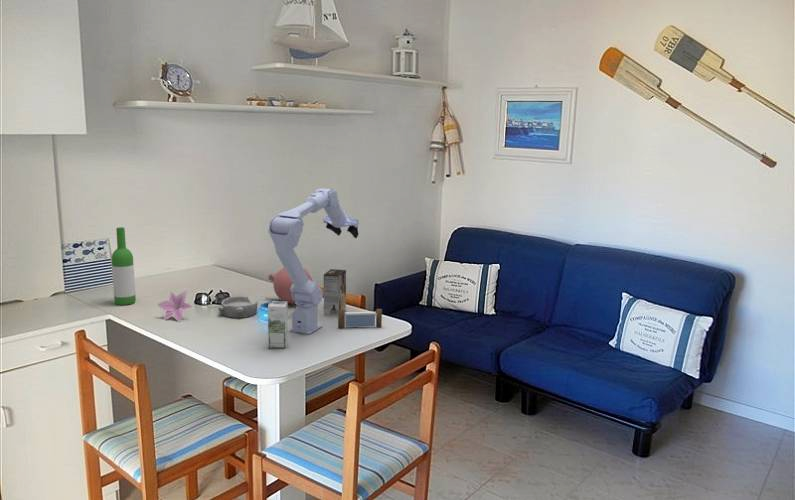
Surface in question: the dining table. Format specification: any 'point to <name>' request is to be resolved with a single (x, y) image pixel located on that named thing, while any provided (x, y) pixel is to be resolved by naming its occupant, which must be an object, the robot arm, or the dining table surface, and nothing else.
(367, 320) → the block
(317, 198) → the robot arm
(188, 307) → the lily
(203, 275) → the dining table surface
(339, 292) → the coffee box
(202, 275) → the dining table surface
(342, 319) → the gate posts
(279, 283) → the pink balloon
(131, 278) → the wine bottle
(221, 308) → the dish
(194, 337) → the dining table surface
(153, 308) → the dining table surface
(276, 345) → the syrup box
